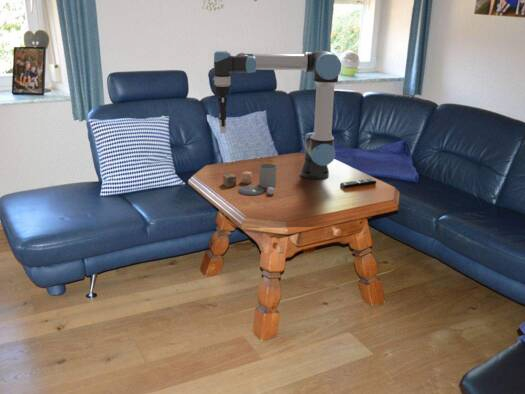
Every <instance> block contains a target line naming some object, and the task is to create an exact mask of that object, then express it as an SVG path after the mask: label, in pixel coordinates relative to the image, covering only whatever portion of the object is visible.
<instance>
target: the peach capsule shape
mask: <svg viewBox="0 0 525 394" xmlns="http://www.w3.org/2000/svg"><path fill="white" fill-rule="evenodd" d="M241 183H242V184H245V185H246V184H247V185H249V184H252V183H253V172H252V171H243V172H242V173H241Z"/></svg>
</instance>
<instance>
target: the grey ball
mask: <svg viewBox="0 0 525 394" xmlns="http://www.w3.org/2000/svg"><path fill="white" fill-rule="evenodd" d="M266 189H267V190H266V193H267V194H268V195H271V196H272V195H273V194H275V188H274V187H269V188H266Z"/></svg>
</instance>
